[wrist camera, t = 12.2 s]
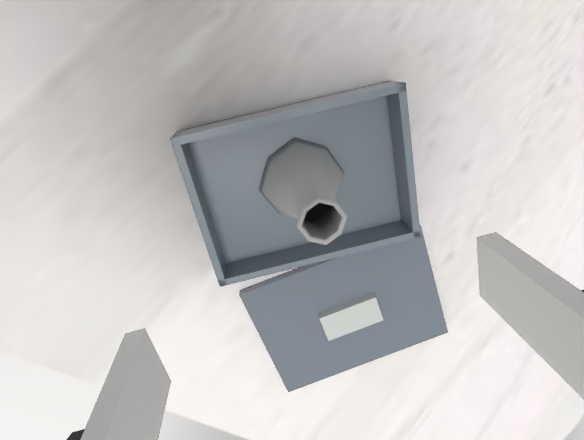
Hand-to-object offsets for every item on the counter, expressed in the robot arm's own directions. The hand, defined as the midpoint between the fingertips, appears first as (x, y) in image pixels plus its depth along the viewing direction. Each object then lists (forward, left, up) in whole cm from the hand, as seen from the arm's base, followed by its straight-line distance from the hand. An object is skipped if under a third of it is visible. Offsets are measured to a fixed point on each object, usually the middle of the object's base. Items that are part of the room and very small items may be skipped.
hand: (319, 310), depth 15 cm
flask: (+1, +2, -21) cm, 21 cm away
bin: (+1, +2, -21) cm, 21 cm away
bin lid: (+16, +4, -21) cm, 27 cm away
